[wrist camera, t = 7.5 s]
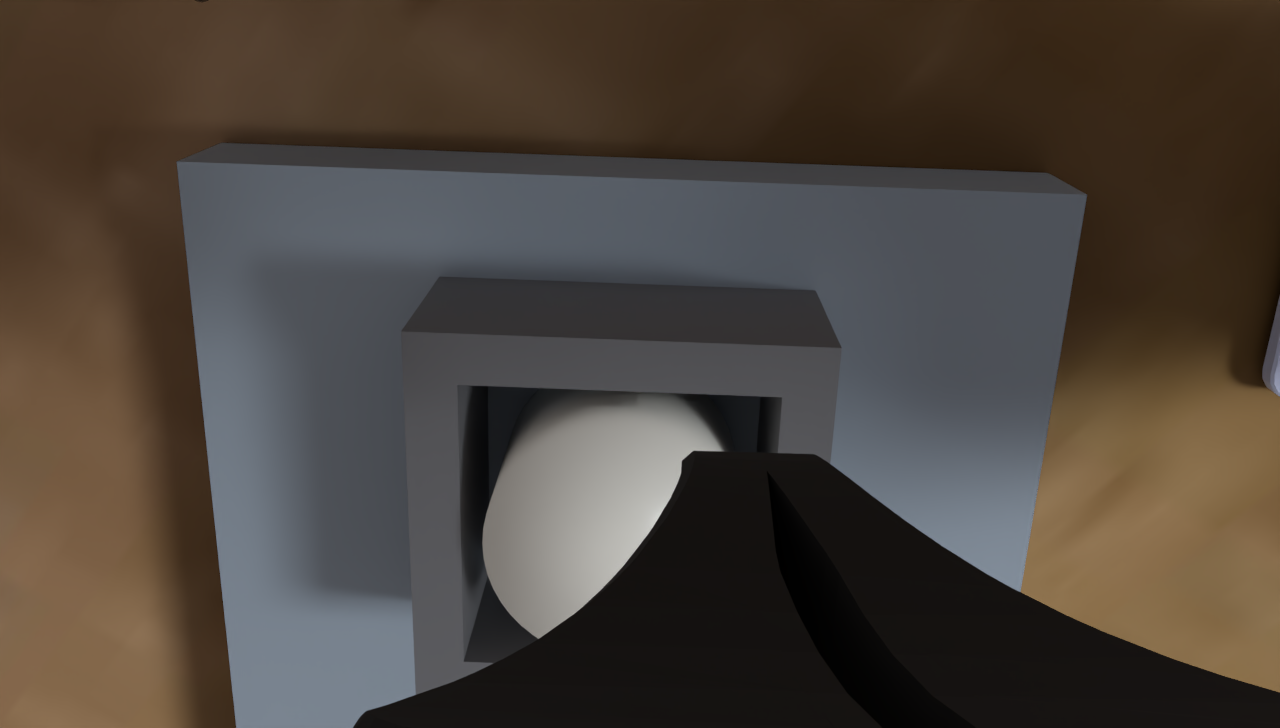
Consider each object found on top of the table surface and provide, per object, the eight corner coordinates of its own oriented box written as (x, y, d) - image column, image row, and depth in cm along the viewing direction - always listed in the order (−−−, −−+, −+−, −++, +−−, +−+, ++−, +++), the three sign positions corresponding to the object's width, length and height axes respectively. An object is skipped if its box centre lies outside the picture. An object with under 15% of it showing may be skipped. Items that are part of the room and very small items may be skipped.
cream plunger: (741, 362, 19) (755, 432, 16) (727, 569, 21) (738, 666, 18) (507, 354, 19) (480, 421, 16) (508, 560, 21) (484, 656, 18)
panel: (1048, 172, 20) (1162, 237, 16) (919, 1002, 27) (972, 1220, 23) (221, 142, 21) (90, 197, 16) (297, 976, 27) (221, 1188, 23)
